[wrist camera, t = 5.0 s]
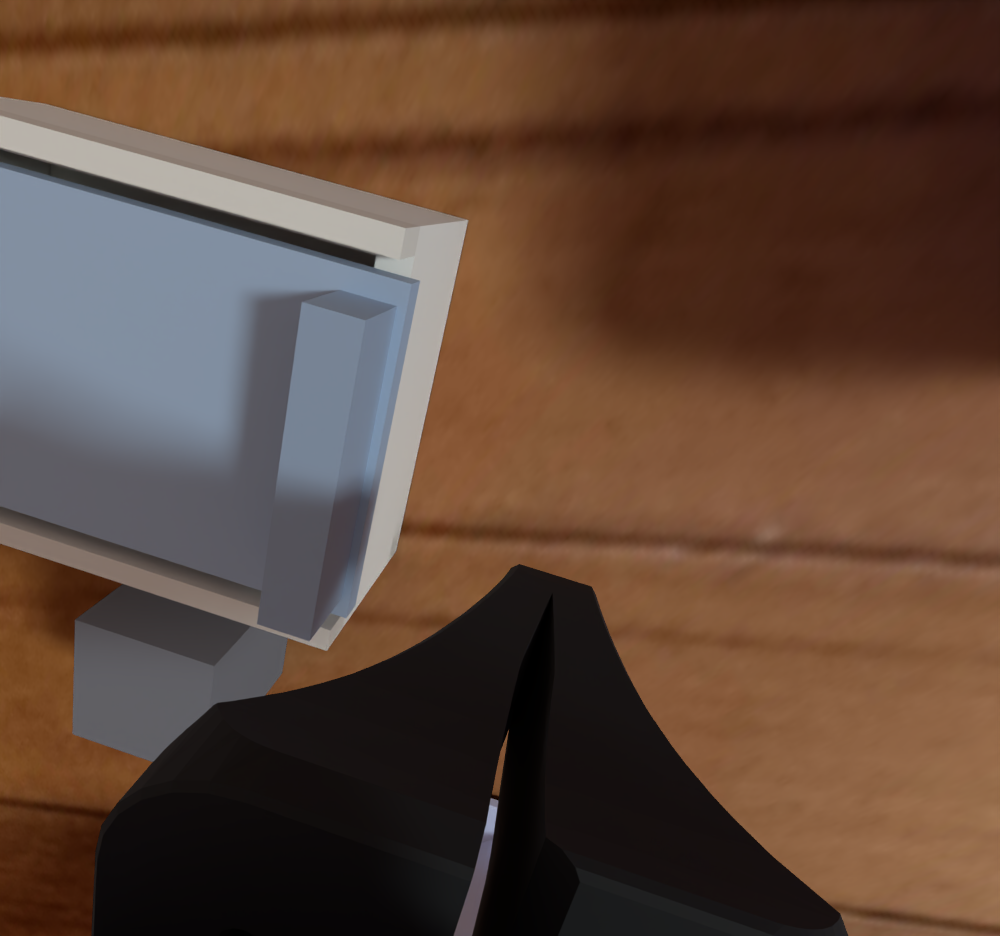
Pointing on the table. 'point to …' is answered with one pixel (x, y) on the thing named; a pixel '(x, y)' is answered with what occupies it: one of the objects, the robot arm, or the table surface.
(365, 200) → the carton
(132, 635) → the rubber block
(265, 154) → the table surface
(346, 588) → the lid
